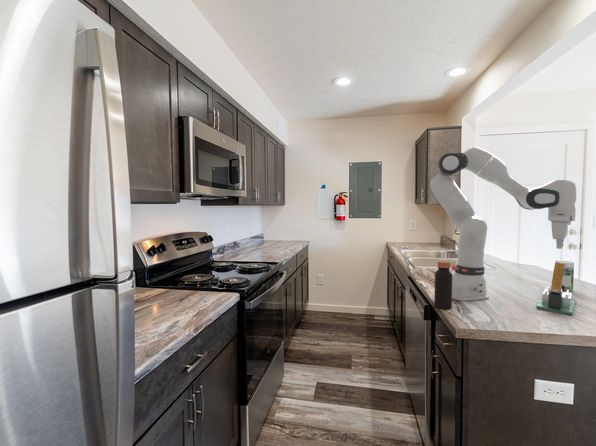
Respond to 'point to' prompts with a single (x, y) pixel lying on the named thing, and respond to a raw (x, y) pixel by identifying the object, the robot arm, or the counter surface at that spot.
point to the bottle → (443, 286)
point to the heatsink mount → (557, 302)
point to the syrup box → (567, 274)
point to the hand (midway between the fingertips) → (559, 247)
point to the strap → (557, 279)
